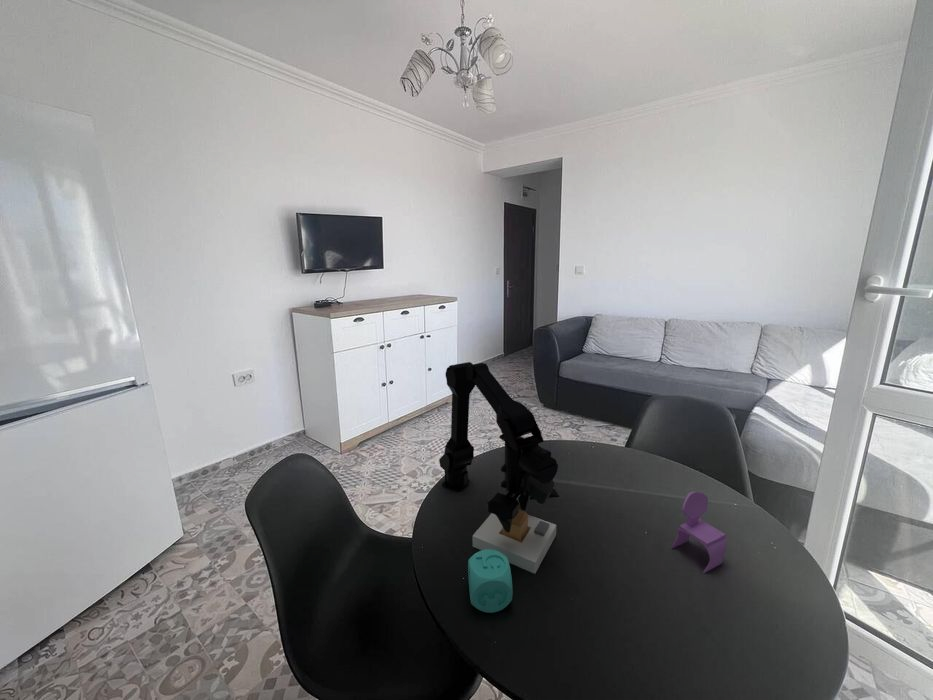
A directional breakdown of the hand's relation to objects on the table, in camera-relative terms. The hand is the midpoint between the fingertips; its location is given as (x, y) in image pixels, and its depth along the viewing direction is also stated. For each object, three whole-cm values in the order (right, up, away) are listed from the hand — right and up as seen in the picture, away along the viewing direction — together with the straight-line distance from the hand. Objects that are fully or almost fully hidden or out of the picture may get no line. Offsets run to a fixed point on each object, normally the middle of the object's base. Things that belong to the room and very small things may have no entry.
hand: (515, 520), depth 91 cm
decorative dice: (-7, -10, -14) cm, 18 cm away
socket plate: (0, -6, +1) cm, 6 cm away
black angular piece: (+10, -2, +21) cm, 23 cm away
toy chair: (+41, -7, -4) cm, 42 cm away
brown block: (0, -5, +1) cm, 5 cm away
